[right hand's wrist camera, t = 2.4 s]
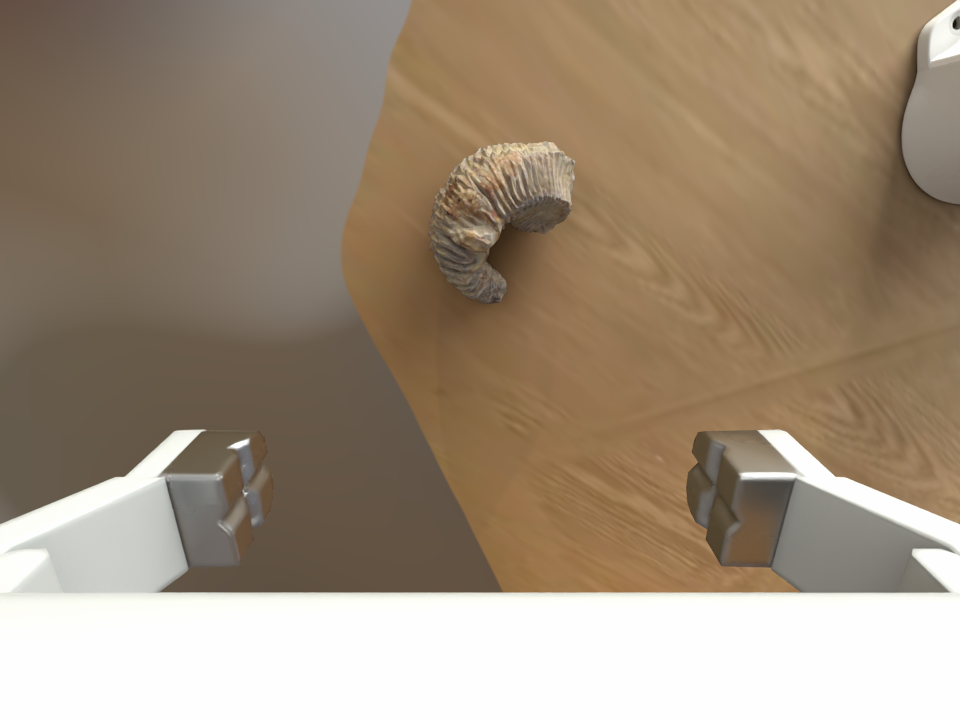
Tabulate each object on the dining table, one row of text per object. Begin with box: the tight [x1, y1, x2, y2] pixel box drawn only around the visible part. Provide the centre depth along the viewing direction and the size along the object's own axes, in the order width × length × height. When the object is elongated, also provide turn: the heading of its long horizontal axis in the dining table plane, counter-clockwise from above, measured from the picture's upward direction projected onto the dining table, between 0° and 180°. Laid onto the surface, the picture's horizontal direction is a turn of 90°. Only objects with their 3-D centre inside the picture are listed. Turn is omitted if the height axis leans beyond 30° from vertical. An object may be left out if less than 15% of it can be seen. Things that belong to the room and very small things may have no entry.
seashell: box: [428, 141, 575, 304], centre depth 42 cm, size 14×10×10 cm
